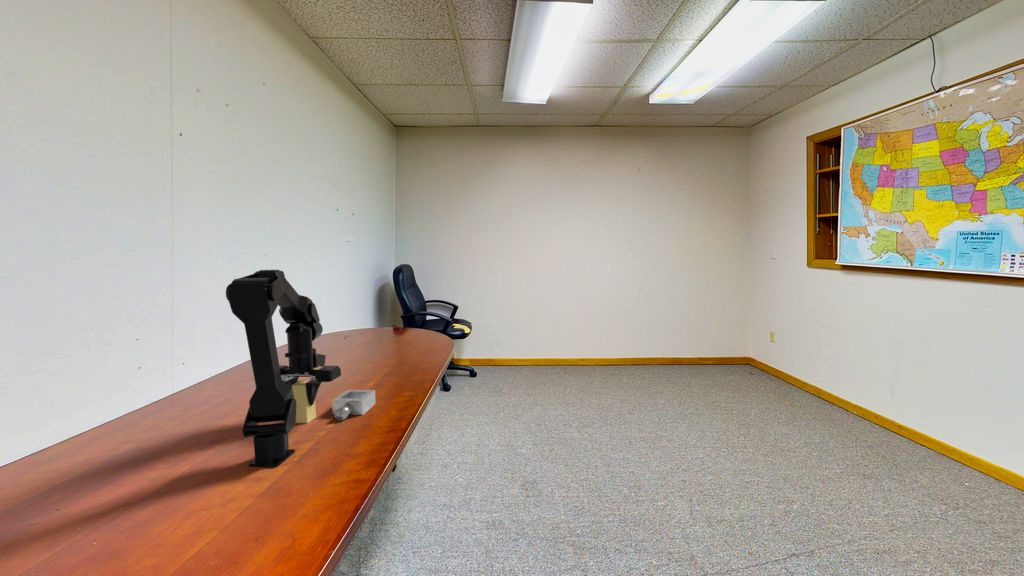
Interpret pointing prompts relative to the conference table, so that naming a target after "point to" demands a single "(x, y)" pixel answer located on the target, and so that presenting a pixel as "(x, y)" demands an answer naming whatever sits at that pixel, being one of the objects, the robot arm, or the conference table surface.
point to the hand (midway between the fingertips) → (303, 405)
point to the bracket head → (353, 403)
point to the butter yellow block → (303, 403)
